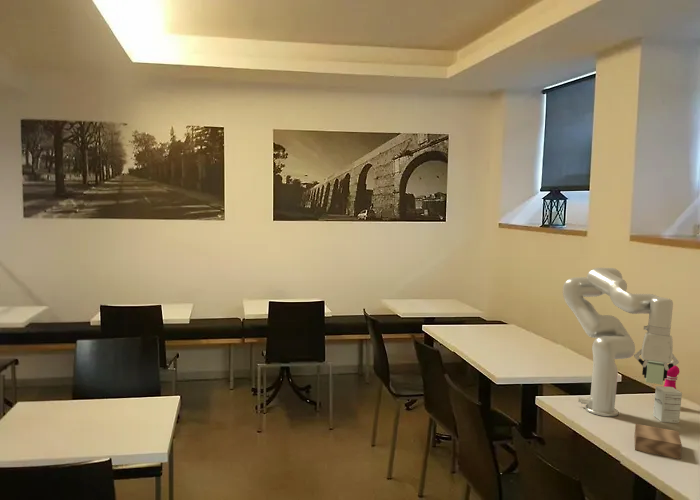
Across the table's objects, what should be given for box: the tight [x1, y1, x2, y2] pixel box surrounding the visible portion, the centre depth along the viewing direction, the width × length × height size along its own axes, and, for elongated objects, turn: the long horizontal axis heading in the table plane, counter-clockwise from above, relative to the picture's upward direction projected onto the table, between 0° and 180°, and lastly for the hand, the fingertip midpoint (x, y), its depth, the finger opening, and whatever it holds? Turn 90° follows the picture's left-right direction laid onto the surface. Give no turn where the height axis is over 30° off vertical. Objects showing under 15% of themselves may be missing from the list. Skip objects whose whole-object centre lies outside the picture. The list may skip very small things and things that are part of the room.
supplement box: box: [652, 385, 683, 424], centre depth 247 cm, size 7×7×13 cm
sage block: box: [645, 361, 664, 386], centre depth 228 cm, size 6×6×7 cm
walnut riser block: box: [633, 423, 683, 460], centre depth 216 cm, size 14×14×5 cm
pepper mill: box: [662, 360, 680, 389], centre depth 264 cm, size 7×7×20 cm
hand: (654, 378), depth 228 cm, fingers closed on sage block, 5 cm apart
